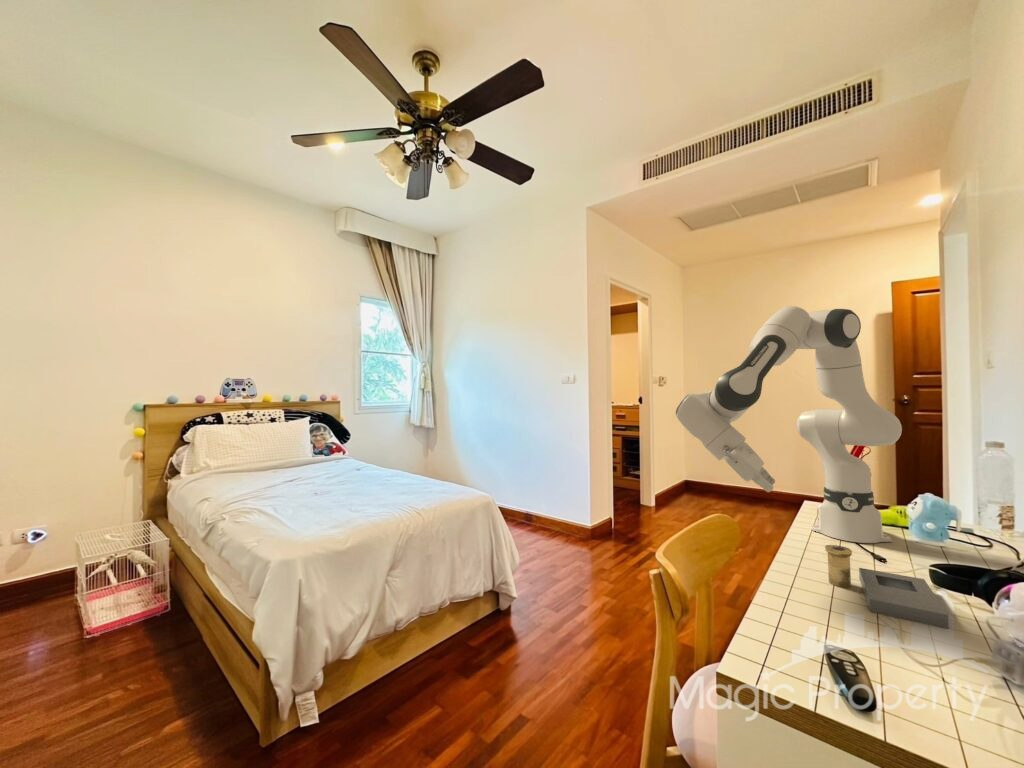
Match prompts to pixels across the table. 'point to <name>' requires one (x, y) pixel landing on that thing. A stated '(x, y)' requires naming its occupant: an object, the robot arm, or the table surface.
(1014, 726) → the table surface
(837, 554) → the bushing
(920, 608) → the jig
